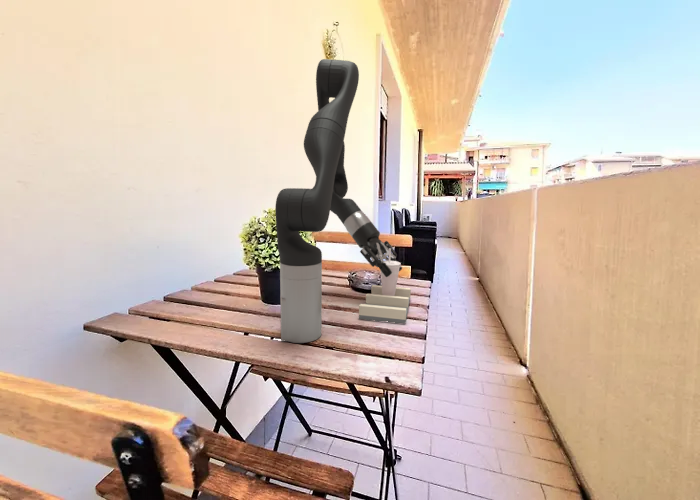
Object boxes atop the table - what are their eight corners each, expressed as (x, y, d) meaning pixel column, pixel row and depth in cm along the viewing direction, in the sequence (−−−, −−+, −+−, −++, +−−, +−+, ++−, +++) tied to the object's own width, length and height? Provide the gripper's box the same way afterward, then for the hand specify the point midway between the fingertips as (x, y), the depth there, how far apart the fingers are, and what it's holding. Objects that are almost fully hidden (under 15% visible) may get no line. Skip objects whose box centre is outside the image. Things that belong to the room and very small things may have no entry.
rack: (405, 324, 85) (405, 310, 84) (358, 319, 88) (359, 305, 87) (410, 299, 104) (410, 288, 104) (372, 296, 107) (372, 285, 106)
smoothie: (374, 295, 99) (376, 248, 96) (382, 289, 104) (384, 245, 102) (394, 299, 96) (397, 250, 93) (402, 293, 101) (404, 247, 99)
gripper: (356, 222, 94) (392, 270, 90) (380, 219, 106) (413, 261, 102) (340, 239, 98) (374, 285, 94) (365, 234, 110) (396, 275, 106)
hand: (394, 272), depth 98 cm, fingers closed on smoothie, 6 cm apart
